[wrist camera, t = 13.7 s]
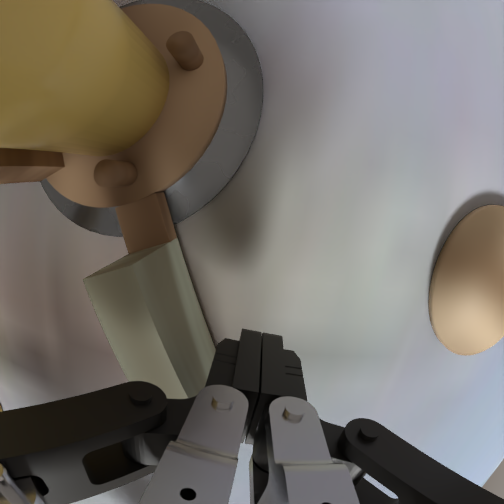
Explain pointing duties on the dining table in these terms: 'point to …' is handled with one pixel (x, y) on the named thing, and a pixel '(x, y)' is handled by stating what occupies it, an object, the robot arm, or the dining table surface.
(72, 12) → the cylinder with side tabs
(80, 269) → the dining table surface
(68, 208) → the stand base
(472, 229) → the coaster
